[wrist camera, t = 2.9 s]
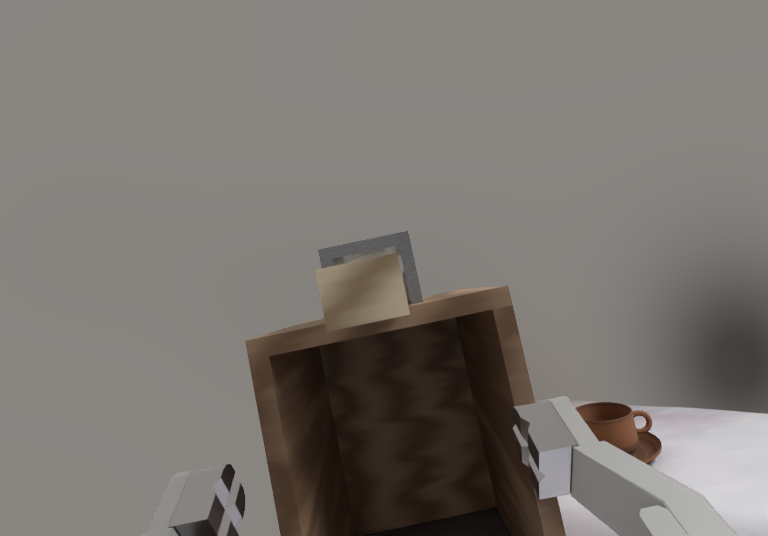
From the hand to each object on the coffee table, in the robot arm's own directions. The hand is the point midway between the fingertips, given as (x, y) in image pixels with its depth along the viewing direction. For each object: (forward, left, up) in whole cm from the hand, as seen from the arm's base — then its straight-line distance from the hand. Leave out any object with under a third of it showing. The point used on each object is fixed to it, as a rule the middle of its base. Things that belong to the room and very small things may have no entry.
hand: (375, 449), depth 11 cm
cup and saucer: (-26, -44, -23) cm, 56 cm away
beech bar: (0, -21, +3) cm, 21 cm away
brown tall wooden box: (0, -29, -23) cm, 37 cm away
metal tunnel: (0, -26, +3) cm, 26 cm away
